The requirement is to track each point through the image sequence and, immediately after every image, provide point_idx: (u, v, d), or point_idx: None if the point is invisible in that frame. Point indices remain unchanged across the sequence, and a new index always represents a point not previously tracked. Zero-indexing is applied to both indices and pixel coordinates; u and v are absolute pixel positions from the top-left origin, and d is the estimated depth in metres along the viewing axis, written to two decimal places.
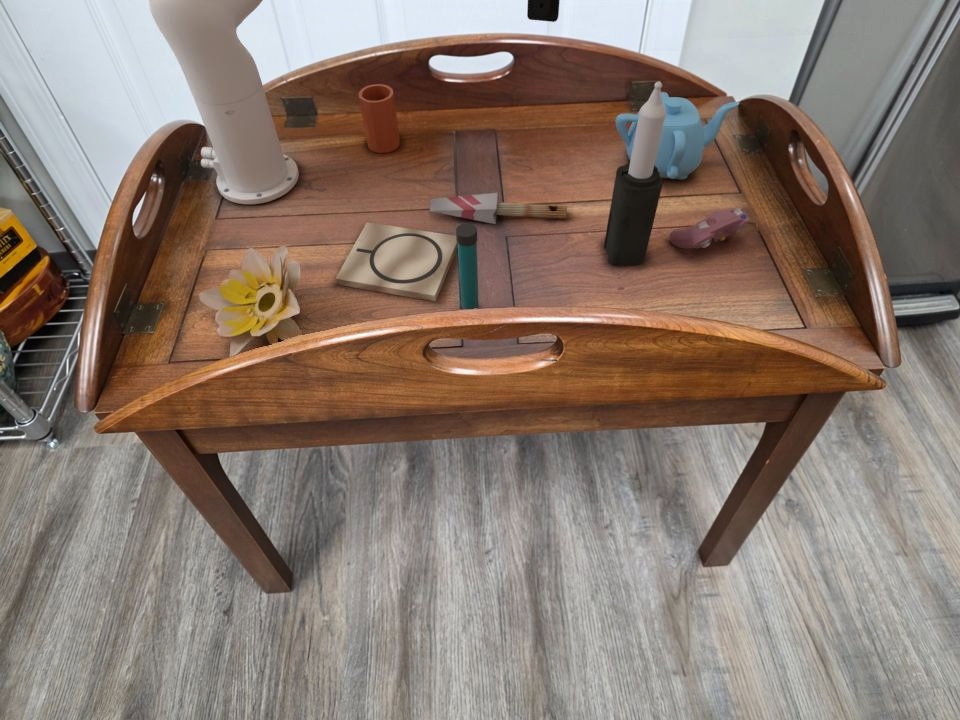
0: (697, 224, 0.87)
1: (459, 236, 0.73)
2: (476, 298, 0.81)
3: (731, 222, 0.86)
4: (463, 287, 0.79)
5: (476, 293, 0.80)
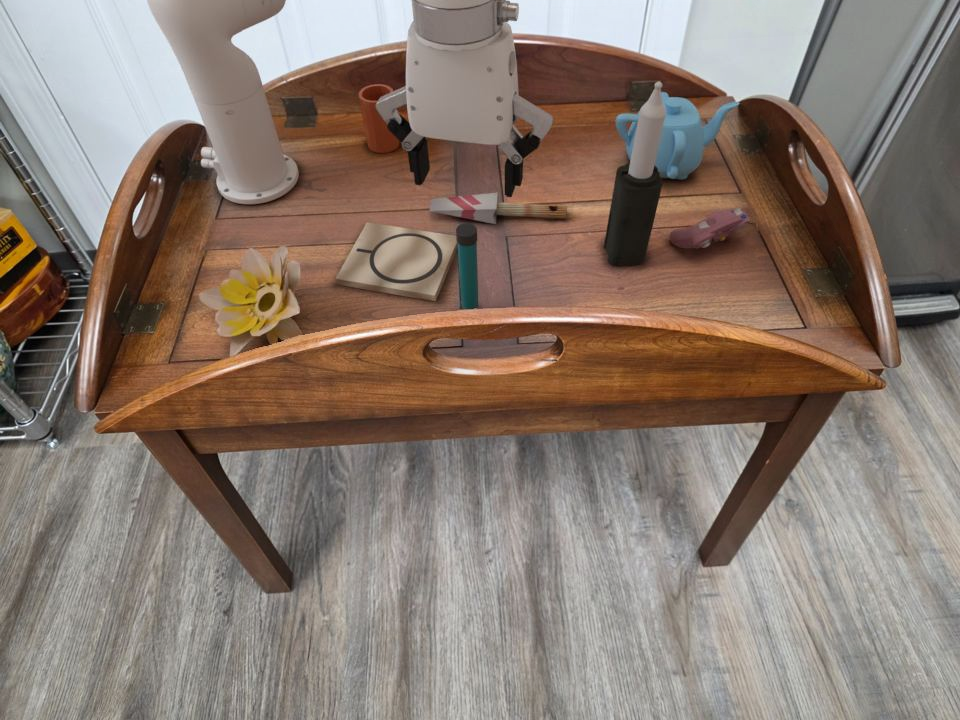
0: (697, 224, 0.87)
1: (459, 236, 0.73)
2: (476, 298, 0.81)
3: (731, 222, 0.86)
4: (463, 287, 0.79)
5: (476, 293, 0.80)
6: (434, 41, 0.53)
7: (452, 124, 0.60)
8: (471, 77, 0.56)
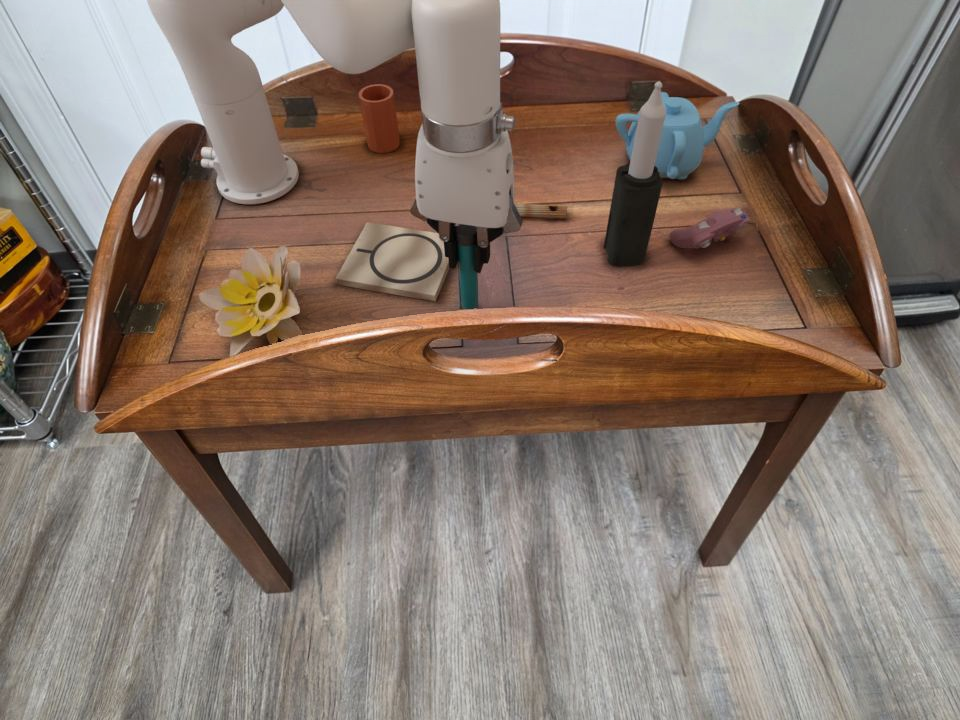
0: (697, 224, 0.87)
1: (459, 236, 0.73)
2: (476, 298, 0.81)
3: (731, 222, 0.86)
4: (463, 287, 0.79)
5: (476, 293, 0.80)
6: (441, 149, 0.61)
7: (455, 211, 0.68)
8: (473, 175, 0.64)
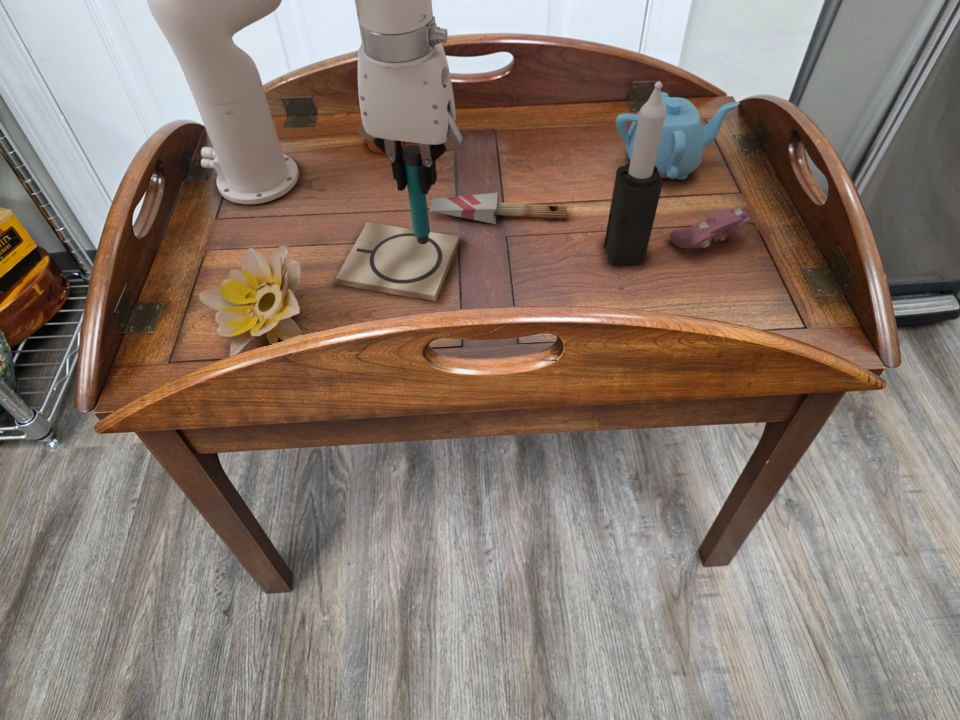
0: (697, 224, 0.87)
1: (405, 156, 0.77)
2: (426, 223, 0.85)
3: (731, 222, 0.86)
4: (412, 211, 0.83)
5: (426, 218, 0.84)
6: (377, 59, 0.65)
7: (398, 127, 0.72)
8: (410, 88, 0.68)
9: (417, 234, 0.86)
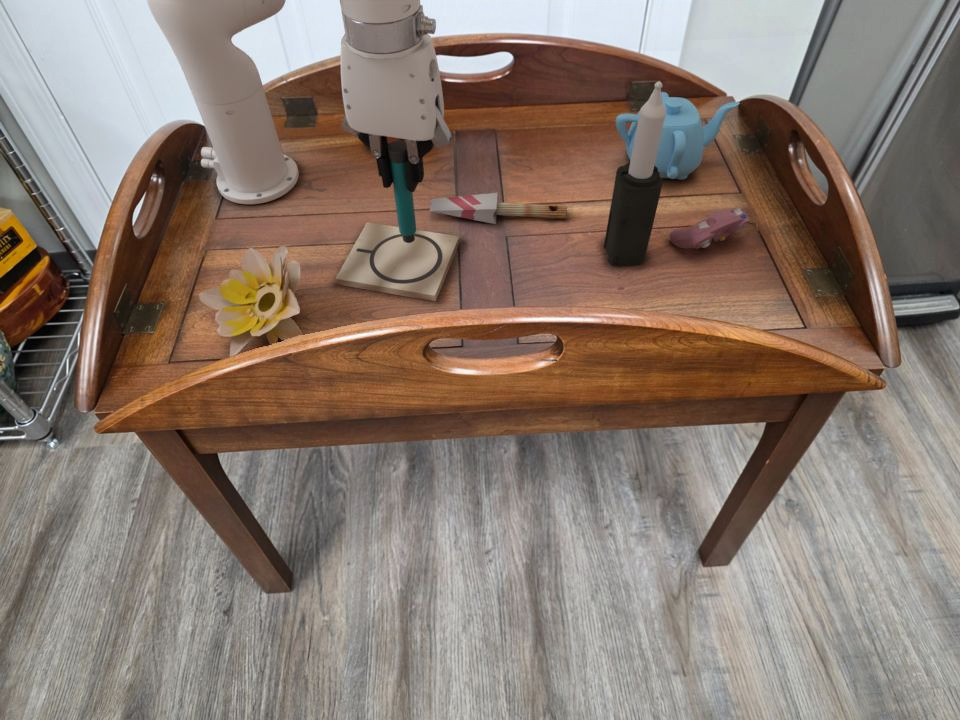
0: (697, 224, 0.87)
1: (390, 152, 0.73)
2: (413, 221, 0.81)
3: (731, 222, 0.86)
4: (398, 209, 0.80)
5: (412, 216, 0.81)
6: (361, 50, 0.61)
7: (383, 122, 0.69)
8: (396, 81, 0.64)
9: (403, 233, 0.82)
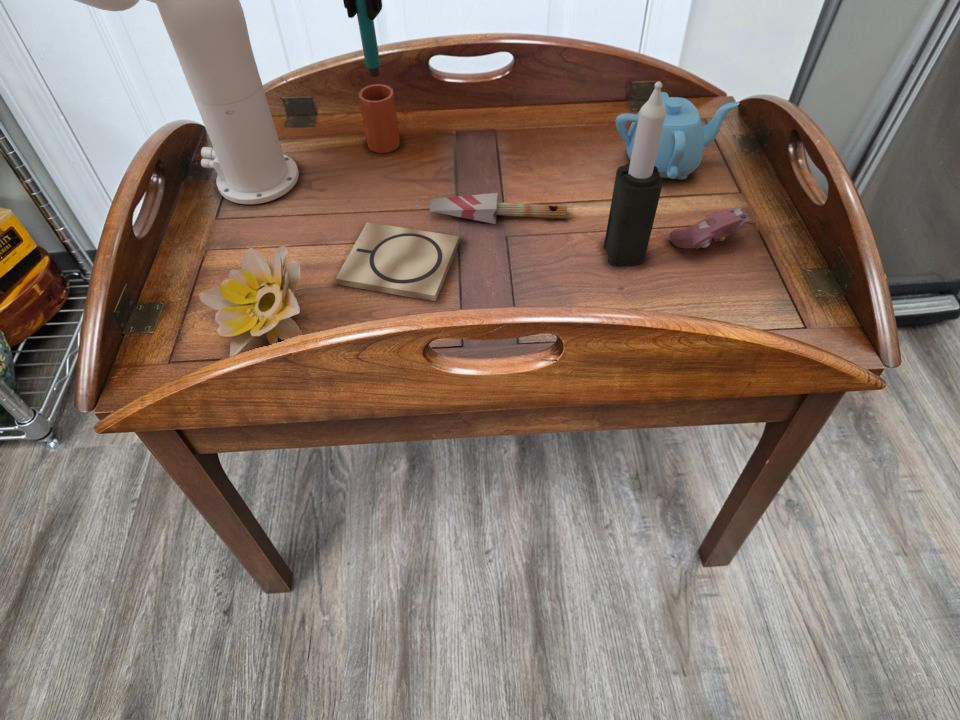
0: (697, 224, 0.87)
1: None
2: (376, 54, 0.96)
3: (731, 222, 0.86)
4: (363, 40, 0.94)
5: (375, 48, 0.95)
6: None
7: None
8: None
9: (368, 65, 0.97)
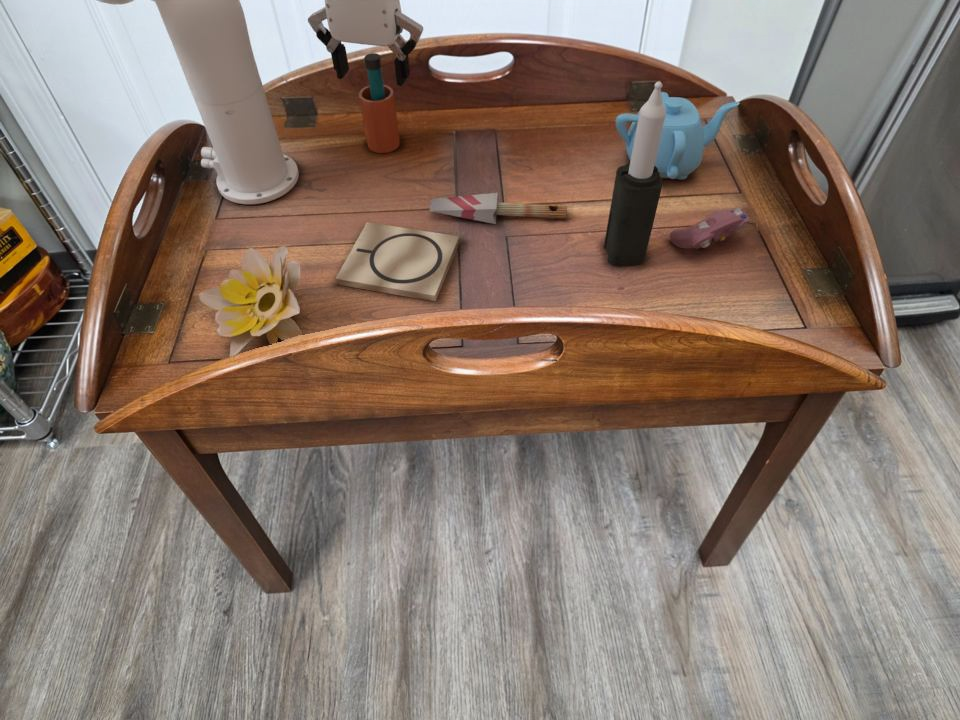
0: (697, 224, 0.87)
1: (366, 61, 0.97)
2: None
3: (731, 222, 0.86)
4: None
5: None
6: None
7: (356, 30, 0.92)
8: None
9: None
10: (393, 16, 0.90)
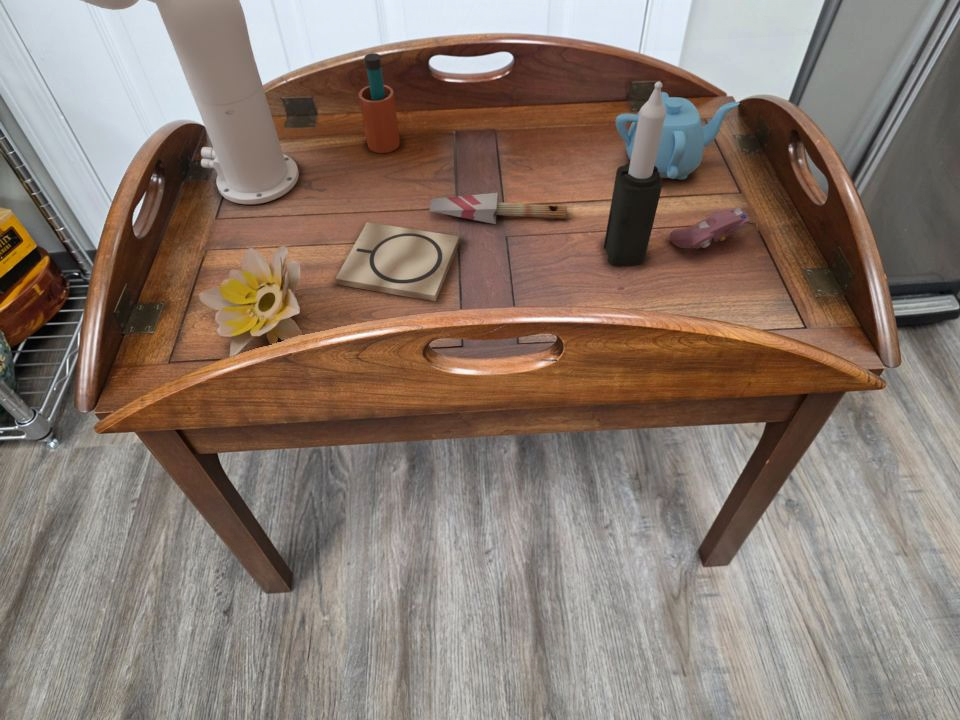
0: (697, 224, 0.87)
1: (366, 61, 0.97)
2: None
3: (731, 222, 0.86)
4: None
5: None
6: None
7: None
8: None
9: None
10: None
